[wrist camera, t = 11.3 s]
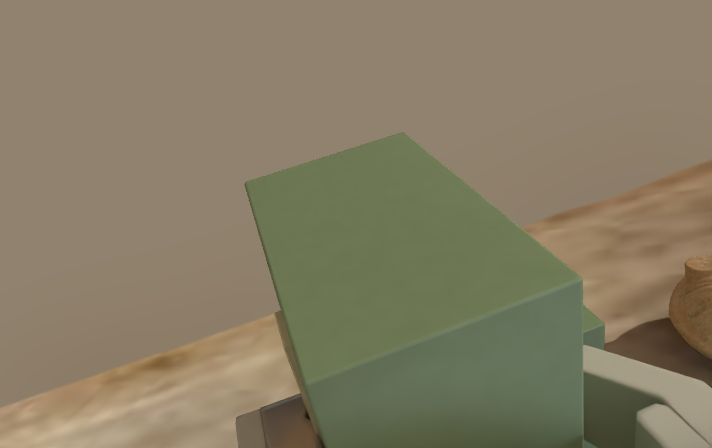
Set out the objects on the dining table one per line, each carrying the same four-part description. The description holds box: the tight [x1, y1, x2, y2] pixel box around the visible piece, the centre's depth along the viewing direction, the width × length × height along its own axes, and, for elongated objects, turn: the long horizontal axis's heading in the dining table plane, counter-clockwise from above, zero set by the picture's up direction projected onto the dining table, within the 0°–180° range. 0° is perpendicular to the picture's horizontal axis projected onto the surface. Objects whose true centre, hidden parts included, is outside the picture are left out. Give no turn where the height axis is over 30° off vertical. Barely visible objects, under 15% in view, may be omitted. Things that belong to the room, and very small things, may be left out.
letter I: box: [245, 132, 584, 448], centre depth 11 cm, size 4×6×10 cm, turn 17°
